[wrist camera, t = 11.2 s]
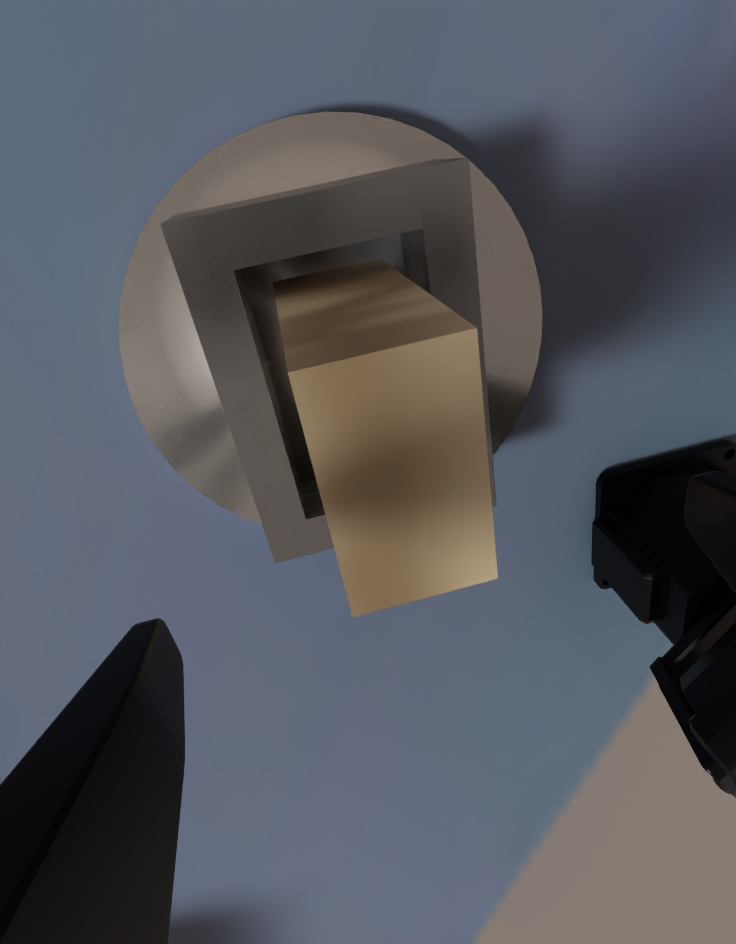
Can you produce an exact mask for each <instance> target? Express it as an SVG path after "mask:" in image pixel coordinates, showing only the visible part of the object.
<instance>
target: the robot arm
mask: <svg viewBox="0 0 736 944" xmlns="http://www.w3.org/2000/svg"><path fill="white" fill-rule="evenodd" d="M727 451H728V452H727ZM726 452H727V453H726ZM725 453H726V454H725ZM611 480H612V482H611V483H610V484H609V485H607V483H608V482H609V481H611ZM592 565H593V566H594V581H595V583H596V584H597V585H598V586H599V587H600V588H602V589H608V588H613V590H614V591H615V592H616V593H617V594H618V595H619V597H620V598H621V599H622V600H623V601H624V603H625V604H626V605H627V606H628V607H629V608H630V610H631V611H632V612H633V613H634V614H635V615H636V617H637V618H638V619H639V620H640V621H642V622H643V623H645V624H649V623H653V622H654V623H655V624H656V625H657V627H658V628H659V629H660V630H661V631H662V632H663V633H664V635H665V636H666V637H667V638H668V639H669V640H670V641H671V643H672V644H673V646H672V647H671V648H670V649H669V650H668V651H667V652H666V654H665V655H664V656H663V657H658V658H657V659H656V660H655V661H654V662H653V663H652V664H651V665H650V669H651V671H652V672H653V674H654V676H655V678H656V680H657V682H658V684H659V687H660V689H661V691H662V693H663V695H664V696H665V698H666V700H667V702H668V704H669V706H670V708H671V710H672V712H673V713H674V715H675V717H676V719H677V721H678V723H679V725H680V726H681V728H682V730H683V732H684V734H685V736H686V737H687V739H688V741H689V743H690V745H691V747H692V749H693V751H694V753H695V754H696V756H697V758H698V760H699V762H700V763H701V765H702V766H703V768H704V769H705V770H706V772H708V773H709V774H710V775H711V776H712V777H713V780H714V781H715V783H716V784H717V785H718V786H719V788H720V789H722V790H723V791H724V792H726V793H728V794H732V795H733V796H734V797H736V444H735V443H734V442H732V441H729V440H725V441H721V442H717V443H713V444H709V445H705V446H702V447H698V448H694V449H690V450H686V451H682V452H678V453H674V454H671V455H667V456H663V457H659V458H655V459H651V460H647V461H644V462H640V463H636V464H632V465H628V466H624V467H620V468H616V469H613V470H609V471H606V472H604V473H602V474H601V475H600V476H599V477H598V479H597V482H596V509H595V519H594V521H593V524H592ZM184 763H185V722H184V674H183V661H182V657H181V654H180V651H179V649H178V647H177V645H176V643H175V641H174V639H173V637H172V635H171V633H170V631H169V629H168V627H167V625H166V624H165V622H164V621H163V620H162V619H159V618H156V619H152V620H148V621H145V622H141V623H138V624H135V625H134V626H133V627H132V628H131V629H130V630H129V631H128V632H127V634H126V635H125V636H124V637H123V638H122V640H121V641H120V642H119V643H118V644H117V646H116V647H115V648H114V649H113V650H112V652H111V653H110V654H109V655H108V656H107V658H106V659H105V660H104V661H103V662H102V664H101V665H100V666H99V667H98V668H97V670H96V671H95V672H94V673H93V674H92V676H91V677H90V678H89V679H88V680H87V682H86V683H85V684H84V685H83V686H82V688H81V689H80V690H79V691H78V692H77V694H76V695H75V696H74V697H73V698H72V700H71V701H70V702H69V703H68V704H67V706H66V707H65V708H64V709H63V710H62V712H61V713H60V714H59V715H58V716H57V718H56V719H55V720H54V721H53V722H52V723H51V725H50V726H49V727H48V728H47V729H46V731H45V732H44V733H43V734H42V735H41V737H40V738H39V739H38V740H37V741H36V743H35V744H34V745H33V746H32V747H31V749H30V750H29V751H28V752H27V753H26V755H25V756H24V757H23V758H22V759H21V761H20V762H19V763H18V764H17V765H16V767H15V768H14V769H13V770H12V771H11V773H10V774H9V775H8V776H7V777H6V779H5V780H4V781H3V782H2V783H1V785H0V944H168V935H169V924H170V914H171V903H172V893H173V882H174V872H175V861H176V851H177V840H178V830H179V819H180V809H181V798H182V788H183V777H184Z"/></svg>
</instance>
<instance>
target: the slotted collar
mask: <svg viewBox="0 0 736 944" xmlns="http://www.w3.org/2000/svg"><path fill="white" fill-rule="evenodd" d="M378 258H381V259H382V260H383V261H385V262H386V263H387V264H389V265H390V266H392V267H393V268H394V269H396V270H397V271H399V272H400V273H401V274H403V275H404V276H406V277H407V278H408V279H410V280H411V281H412V282H414V283H415V284H417V285H418V286H419V287H421V288H422V289H424V290H425V291H426V292H428V293H429V294H431V295H432V296H433V297H435V298H436V299H437V300H439V301H440V302H442V303H443V304H444V305H446V306H447V307H449V308H450V309H451V310H453V311H454V312H456V313H457V314H458V315H460V316H461V317H462V318H464V319H465V320H467V321H468V322H469V323H471V324H472V325H474V326H475V327H476V328H477V333H478V345H479V357H480V369H481V381H482V393H483V405H484V417H485V429H486V441H487V453H488V465H489V477H490V489H491V501H492V507H493V506H496V494H495V481H494V469H493V456H492V455H493V454H494V453H495V452H496V450H497V449H498V448H499V446H500V445H501V443H502V442H503V441H504V439H505V438H506V436H507V435H508V434H509V432H510V430H511V428H512V427H513V425H514V423H515V421H516V419H517V418H518V416H519V414H520V412H521V410H522V408H523V405H524V403H525V400H526V398H527V396H528V393H529V391H530V388H531V385H532V381H533V378H534V374H535V371H536V367H537V364H538V357H539V351H540V345H541V339H542V302H541V291H540V283H539V279H538V274H537V270H536V265H535V261H534V258H533V255H532V252H531V249H530V247H529V244H528V241H527V238H526V236H525V233H524V231H523V229H522V227H521V226H520V224H519V222H518V220H517V218H516V216H515V214H514V212H513V211H512V209H511V207H510V206H509V204H508V203H507V202H506V200H505V199H504V197H503V196H502V195H501V193H500V192H499V191H498V189H497V188H496V187H495V185H494V184H493V183H492V182H491V181H490V180H489V179H488V178H487V177H486V176H485V175H484V174H483V173H482V172H481V171H480V170H479V169H478V168H477V167H476V166H475V165H474V164H473V163H472V162H471V161H470V160H469V158H466V157H464V156H463V155H462V154H460V153H459V152H458V151H456V150H455V149H454V148H453V147H451V146H450V145H449V144H447V143H445V142H443V141H441V140H439V139H438V138H436V137H434V136H432V135H430V134H428V133H426V132H425V131H423V130H421V129H418V128H415V127H413V126H410V125H407V124H404V123H401V122H399V121H396V120H393V119H390V118H384V117H379V116H374V115H369V114H363V113H356V112H318V113H310V114H302V115H294V116H290V117H286V118H283V119H279V120H276V121H272V122H269V123H265V124H262V125H259V126H257V127H255V128H253V129H250V130H248V131H246V132H244V133H242V134H240V135H238V136H235V137H233V138H231V139H229V140H228V141H226V142H225V143H223V144H222V145H220V146H219V147H217V148H216V149H214V150H213V151H211V152H210V153H208V154H207V155H205V156H204V157H202V158H201V159H200V160H199V161H198V162H197V163H196V164H194V165H193V166H192V167H191V168H190V169H189V170H188V171H187V172H186V173H185V174H184V175H183V176H181V177H180V178H179V179H178V180H177V181H176V182H175V184H174V185H173V186H172V187H171V189H170V190H169V191H168V192H167V194H166V195H165V196H164V197H163V199H162V200H161V201H160V202H159V204H158V205H157V206H156V208H155V209H154V211H153V213H152V215H151V216H150V218H149V220H148V222H147V223H146V225H145V227H144V229H143V230H142V232H141V234H140V236H139V238H138V241H137V243H136V246H135V249H134V251H133V254H132V256H131V259H130V261H129V264H128V268H127V272H126V276H125V281H124V285H123V289H122V293H121V303H120V315H119V340H120V355H121V360H122V365H123V370H124V375H125V380H126V384H127V387H128V390H129V393H130V396H131V398H132V401H133V404H134V407H135V410H136V412H137V414H138V416H139V418H140V420H141V422H142V424H143V426H144V428H145V429H146V431H147V433H148V435H149V436H150V438H151V439H152V441H153V442H154V444H155V445H156V447H157V448H158V450H159V451H160V452H161V454H162V455H163V456H164V458H165V459H166V460H167V461H168V462H169V463H170V464H171V465H172V467H173V468H174V469H175V470H176V471H177V472H178V473H179V474H180V475H181V476H182V477H183V478H184V479H185V480H186V481H188V482H189V483H190V484H191V485H192V486H193V487H194V488H196V489H197V490H198V491H199V492H201V493H202V494H203V495H205V496H206V497H208V498H209V499H211V500H212V501H214V502H215V503H217V504H218V505H220V506H222V507H224V508H226V509H228V510H230V511H232V512H233V513H235V514H237V515H239V516H241V517H244V518H247V519H249V520H252V521H255V522H257V523H260V524H262V525H263V528H264V531H265V534H266V537H267V540H268V543H269V546H270V549H271V552H272V555H273V557H274V560H275V563H277V562H281V561H285V560H289V559H293V558H297V557H301V556H304V555H308V554H312V553H316V552H320V551H324V550H328V549H331V548H334V545H333V541H332V537H331V534H330V530H329V526H328V522H327V519H326V515H325V511H324V507H323V504H322V500H321V496H320V492H319V488H318V485H317V481H316V477H315V473H314V470H313V466H312V462H311V458H310V455H309V451H308V447H307V443H306V440H305V436H304V432H303V428H302V424H301V421H300V417H299V413H298V409H297V406H296V402H295V398H294V394H293V391H292V387H291V383H290V379H289V376H288V371H287V365H286V360H285V354H284V348H283V342H282V336H281V330H280V324H279V318H278V312H277V306H276V300H275V294H274V289H273V283H272V282H275V281H279V280H284V279H288V278H293V277H297V276H302V275H306V274H311V273H315V272H320V271H324V270H328V269H333V268H337V267H342V266H346V265H351V264H355V263H360V262H364V261H369V260H373V259H378Z"/></svg>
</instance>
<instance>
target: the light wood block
mask: <svg viewBox="0 0 736 944" xmlns="http://www.w3.org/2000/svg"><path fill="white" fill-rule="evenodd" d="M272 283H273V289H274V294H275V300H276V306H277V312H278V318H279V324H280V330H281V336H282V342H283V348H284V354H285V360H286V365H287V371H288V376H289V379H290V383H291V387H292V391H293V394H294V398H295V402H296V406H297V409H298V413H299V417H300V421H301V424H302V428H303V432H304V436H305V440H306V443H307V447H308V451H309V455H310V458H311V462H312V466H313V470H314V473H315V477H316V481H317V485H318V488H319V492H320V496H321V500H322V504H323V507H324V511H325V515H326V519H327V522H328V526H329V530H330V534H331V537H332V541H333V545H334V549H335V552H336V556H337V560H338V564H339V567H340V571H341V575H342V579H343V583H344V586H345V590H346V594H347V598H348V601H349V605H350V609H351V613H352V616H353V617H356V616H360V615H364V614H367V613H371V612H375V611H379V610H382V609H386V608H390V607H394V606H397V605H401V604H405V603H409V602H412V601H416V600H420V599H424V598H427V597H431V596H435V595H438V594H442V593H446V592H450V591H453V590H457V589H461V588H465V587H468V586H472V585H476V584H480V583H483V582H487V581H491V580H495V579H498V573H497V561H496V549H495V537H494V525H493V513H492V501H491V489H490V477H489V465H488V453H487V441H486V429H485V417H484V405H483V393H482V381H481V369H480V357H479V345H478V333H477V328H476V327H475V326H474V325H472V324H471V323H469V322H468V321H467V320H465V319H464V318H462V317H461V316H460V315H458V314H457V313H456V312H454V311H453V310H451V309H450V308H449V307H447V306H446V305H444V304H443V303H442V302H440V301H439V300H437V299H436V298H435V297H433V296H432V295H431V294H429V293H428V292H426V291H425V290H424V289H422V288H421V287H419V286H418V285H417V284H415V283H414V282H412V281H411V280H410V279H408V278H407V277H406V276H404V275H403V274H401V273H400V272H399V271H397V270H396V269H394V268H393V267H392V266H390V265H389V264H387V263H386V262H385V261H383V260H382V259H381V258H378V259H373V260H369V261H364V262H360V263H355V264H351V265H346V266H342V267H337V268H333V269H328V270H324V271H320V272H315V273H311V274H306V275H302V276H297V277H293V278H288V279H284V280H279V281H275V282H272Z"/></svg>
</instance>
